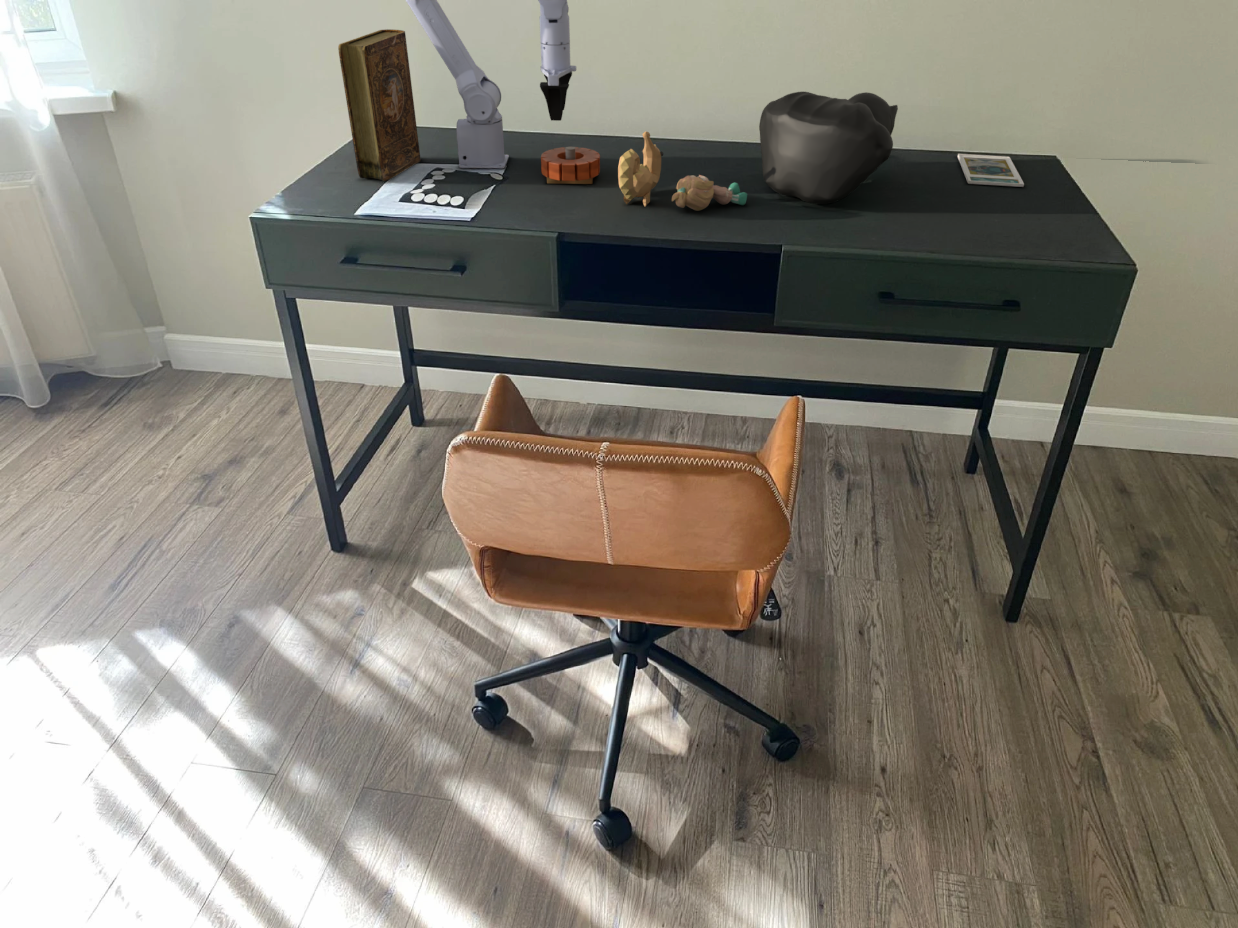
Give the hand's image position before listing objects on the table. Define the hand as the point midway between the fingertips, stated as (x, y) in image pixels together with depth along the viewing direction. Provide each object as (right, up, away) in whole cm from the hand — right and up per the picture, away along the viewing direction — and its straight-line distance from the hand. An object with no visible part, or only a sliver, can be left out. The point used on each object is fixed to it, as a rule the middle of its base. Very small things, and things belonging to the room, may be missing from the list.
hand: (557, 115), depth 184 cm
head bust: (+55, -16, -5) cm, 57 cm away
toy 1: (+17, -21, -12) cm, 30 cm away
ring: (+3, -12, -2) cm, 13 cm away
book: (-34, -11, +2) cm, 36 cm away
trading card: (+89, -11, +3) cm, 90 cm away
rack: (+3, -13, -1) cm, 13 cm away
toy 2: (+29, -23, -15) cm, 40 cm away
